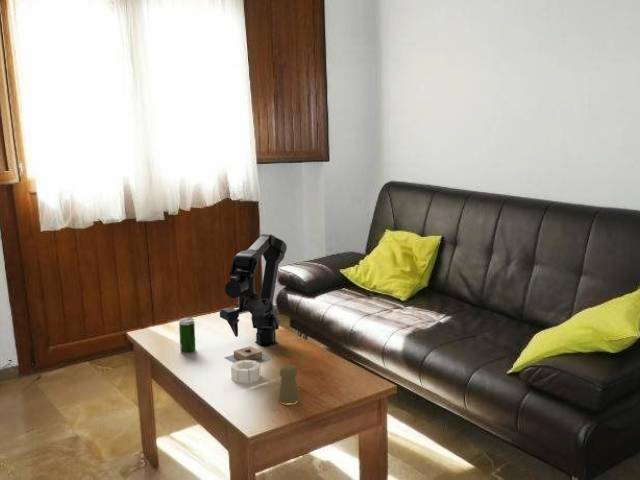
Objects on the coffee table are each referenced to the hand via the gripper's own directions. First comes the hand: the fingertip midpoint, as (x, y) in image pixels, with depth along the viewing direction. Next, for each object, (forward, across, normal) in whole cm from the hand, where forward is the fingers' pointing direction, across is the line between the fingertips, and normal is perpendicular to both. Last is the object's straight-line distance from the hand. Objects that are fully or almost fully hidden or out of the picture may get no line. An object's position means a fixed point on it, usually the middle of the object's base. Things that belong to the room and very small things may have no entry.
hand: (247, 333), depth 228 cm
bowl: (+9, -10, -13) cm, 19 cm away
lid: (+9, 0, 0) cm, 9 cm away
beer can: (+10, -12, +20) cm, 25 cm away
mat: (+9, 0, 0) cm, 9 cm away
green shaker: (+10, -10, -35) cm, 38 cm away
